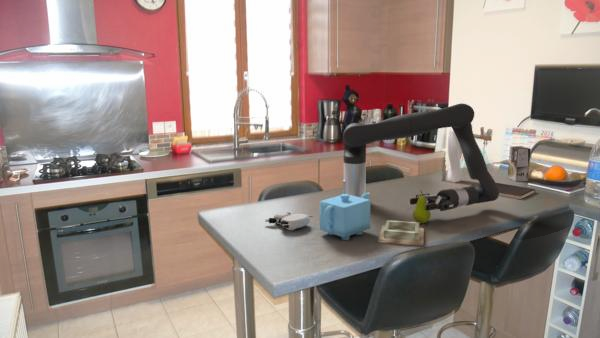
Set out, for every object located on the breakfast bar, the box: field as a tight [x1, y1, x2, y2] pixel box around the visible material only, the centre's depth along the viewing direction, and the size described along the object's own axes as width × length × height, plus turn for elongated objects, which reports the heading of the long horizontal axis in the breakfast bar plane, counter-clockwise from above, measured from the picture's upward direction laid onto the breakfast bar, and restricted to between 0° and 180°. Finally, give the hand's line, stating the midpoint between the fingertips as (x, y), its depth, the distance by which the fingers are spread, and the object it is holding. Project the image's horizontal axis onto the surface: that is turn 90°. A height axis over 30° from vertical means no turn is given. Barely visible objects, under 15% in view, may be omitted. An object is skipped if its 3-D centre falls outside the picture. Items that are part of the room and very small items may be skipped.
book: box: [468, 182, 536, 200], centre depth 203 cm, size 16×23×2 cm
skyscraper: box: [441, 127, 463, 184], centre depth 221 cm, size 8×8×28 cm
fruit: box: [412, 189, 431, 224], centre depth 162 cm, size 6×6×12 cm
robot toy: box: [264, 212, 315, 231], centre depth 162 cm, size 12×4×15 cm
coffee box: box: [507, 145, 532, 182], centre depth 223 cm, size 9×6×16 cm
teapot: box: [319, 191, 371, 241], centre depth 153 cm, size 22×11×14 cm, turn 132°
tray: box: [378, 219, 425, 246], centre depth 150 cm, size 14×14×4 cm
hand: (418, 204), depth 161 cm, fingers open, 8 cm apart
